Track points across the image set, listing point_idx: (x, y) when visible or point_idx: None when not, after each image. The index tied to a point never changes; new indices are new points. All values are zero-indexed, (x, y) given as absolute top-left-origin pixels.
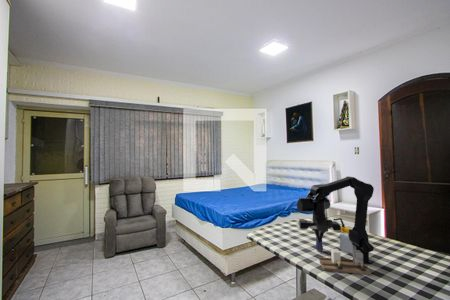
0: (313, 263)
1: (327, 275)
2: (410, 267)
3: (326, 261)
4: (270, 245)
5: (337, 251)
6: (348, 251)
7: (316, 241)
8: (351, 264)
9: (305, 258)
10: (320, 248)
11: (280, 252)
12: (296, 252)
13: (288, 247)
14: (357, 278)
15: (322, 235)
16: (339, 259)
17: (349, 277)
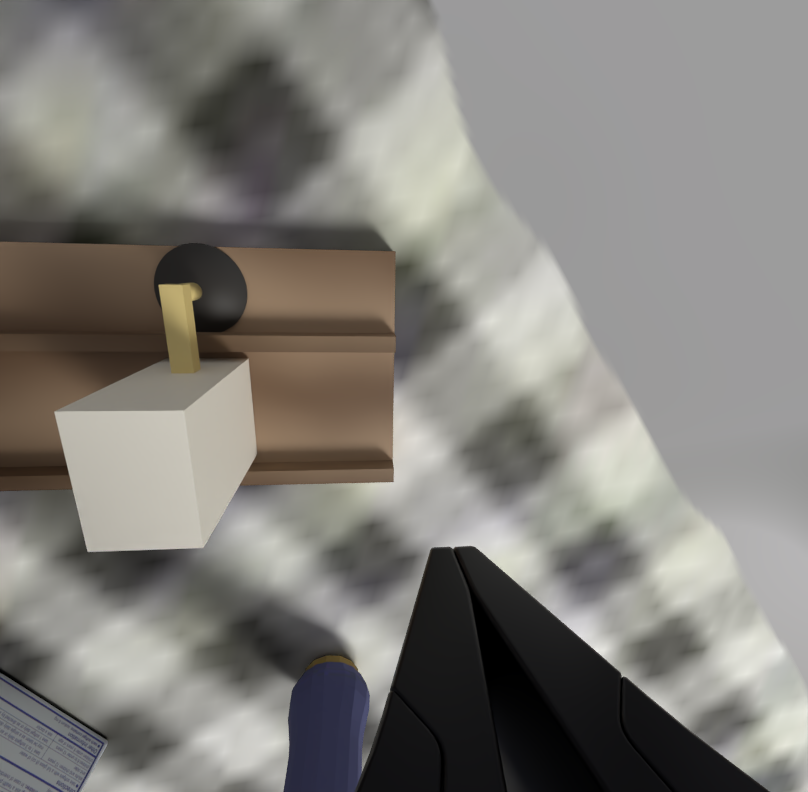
0: (466, 401)
1: (380, 140)
2: None
3: (321, 423)
4: (777, 679)
5: (104, 449)
6: (19, 700)
7: (359, 776)
8: (23, 397)
9: (520, 493)
10: (323, 681)
11: (733, 569)
12: (574, 596)
13: (621, 675)
14: (17, 110)
15: (399, 745)
16: (143, 377)
17: (117, 124)
